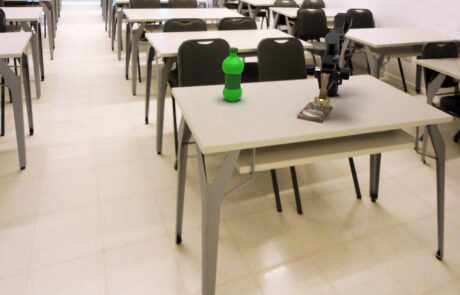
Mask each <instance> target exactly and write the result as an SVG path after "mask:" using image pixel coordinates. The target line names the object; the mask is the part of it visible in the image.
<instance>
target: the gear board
mask: <svg viewBox="0 0 460 295" xmlns="http://www.w3.org/2000/svg"><path fill="white" fill-rule="evenodd" d="M332 110H333V105H331V104H330V105H326V106H323V105H317V104H316V103H314V101H309V102H308V103H307V104H306V105H305V106H304V107H303V108H302V109H301V110H300V112H299V113H298V114H297V115H296V116H297V117H296V118H297V119H300V120H304V121H311V122H315V123H319V124H322V123H323V122H324V121H325V119H326V118H327V117H328V115H329V114H330V113H331V111H332Z"/></svg>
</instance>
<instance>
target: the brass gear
mask: <svg viewBox="0 0 460 295" xmlns="http://www.w3.org/2000/svg"><path fill="white" fill-rule="evenodd" d="M329 77H330V73H321V85H320V89H319V93H318V96H314V98H313V102H314V103H316V104H317V105H323V106H326V105H331V97H328V96H327V87H328V84H329Z"/></svg>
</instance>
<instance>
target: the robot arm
mask: <svg viewBox="0 0 460 295" xmlns="http://www.w3.org/2000/svg"><path fill="white" fill-rule="evenodd" d="M352 23H353V16H351V15H349V13H346V12H337V13H336V14H335V15H334V18H333V23H332V24H333V28H331V29H329V31H328V33H327V34H326V35H325V37H324V43H325V44H324V47H325V48H324V49H325V50H324V51H325V52H324V54H323V55H322V58H321V64H320V67H318V66H316V64H315V63H307V64H305V67H304V73H305V75H306V76H309V77H310V76H311V77H314V78H315V79H316V81H317V84H318V85H317V86H318V90H320V85H321V78H322V73H330V77H329V84H328V87H327V97H328V98H334V97H338V96H339V97H340V94H339V93H338V91H339V87H340V86H342V85H343V81H350V76H351V68H349V67H341V66H340V63H341V57H342V53H343V48H344V43H345V42H346V37H345V36H346V35H347V34H348V33H349V31H350V28H351V27H352V25H353V24H352Z"/></svg>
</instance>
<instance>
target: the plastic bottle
mask: <svg viewBox="0 0 460 295" xmlns="http://www.w3.org/2000/svg"><path fill="white" fill-rule="evenodd" d="M228 53H229V56H227V57H226V58H225V59H224V60H223V62H222V65H221V69H222V71H223V73H224V87H223V89H222V95H223V97H224V98H225V99H226V100H227V101H228V102H237V101H238V100H239V99H241V97H242V95H243V88H242V87H241V83H242V72H244V69H245V68H244V67H245V63H244V61H243V60H242V59H241V58H240V56H238V53H239V48H238V47H233V46H232V47H229V48H228Z"/></svg>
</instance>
